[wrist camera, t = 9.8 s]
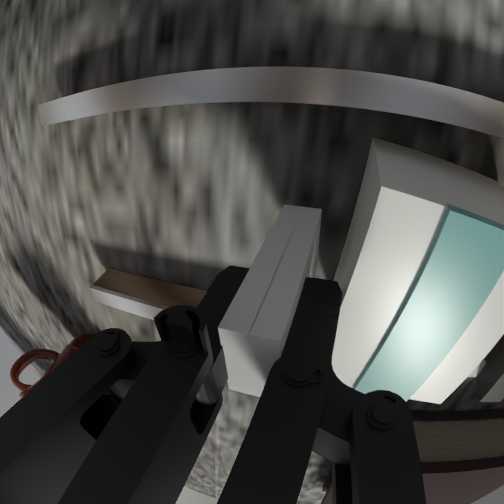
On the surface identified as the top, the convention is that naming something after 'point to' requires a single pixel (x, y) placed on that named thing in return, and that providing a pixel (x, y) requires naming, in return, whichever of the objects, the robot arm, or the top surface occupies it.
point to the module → (419, 276)
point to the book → (456, 454)
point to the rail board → (289, 91)
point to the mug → (47, 355)
